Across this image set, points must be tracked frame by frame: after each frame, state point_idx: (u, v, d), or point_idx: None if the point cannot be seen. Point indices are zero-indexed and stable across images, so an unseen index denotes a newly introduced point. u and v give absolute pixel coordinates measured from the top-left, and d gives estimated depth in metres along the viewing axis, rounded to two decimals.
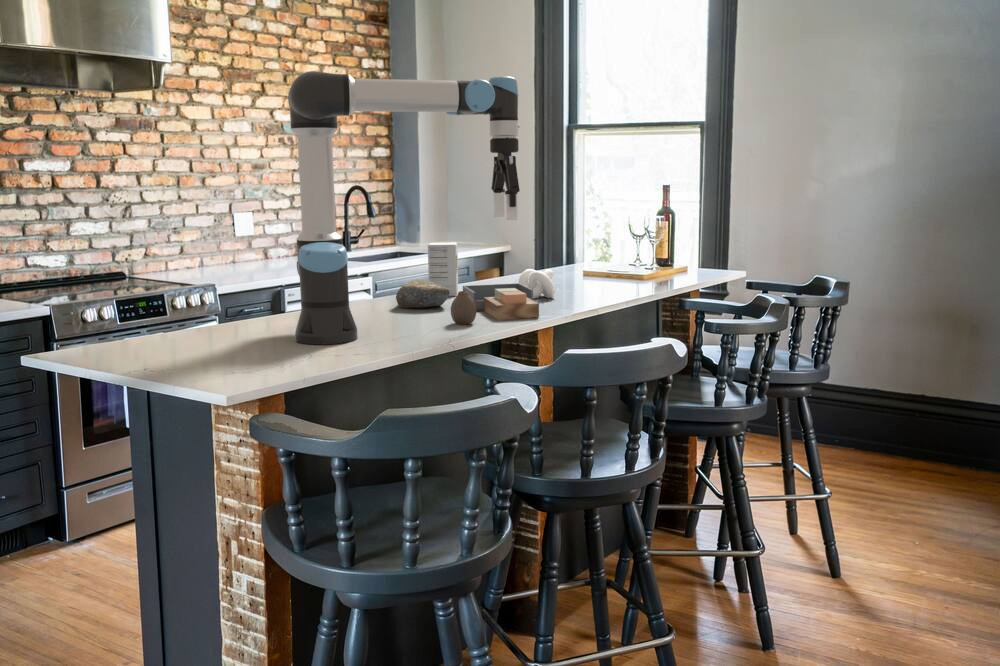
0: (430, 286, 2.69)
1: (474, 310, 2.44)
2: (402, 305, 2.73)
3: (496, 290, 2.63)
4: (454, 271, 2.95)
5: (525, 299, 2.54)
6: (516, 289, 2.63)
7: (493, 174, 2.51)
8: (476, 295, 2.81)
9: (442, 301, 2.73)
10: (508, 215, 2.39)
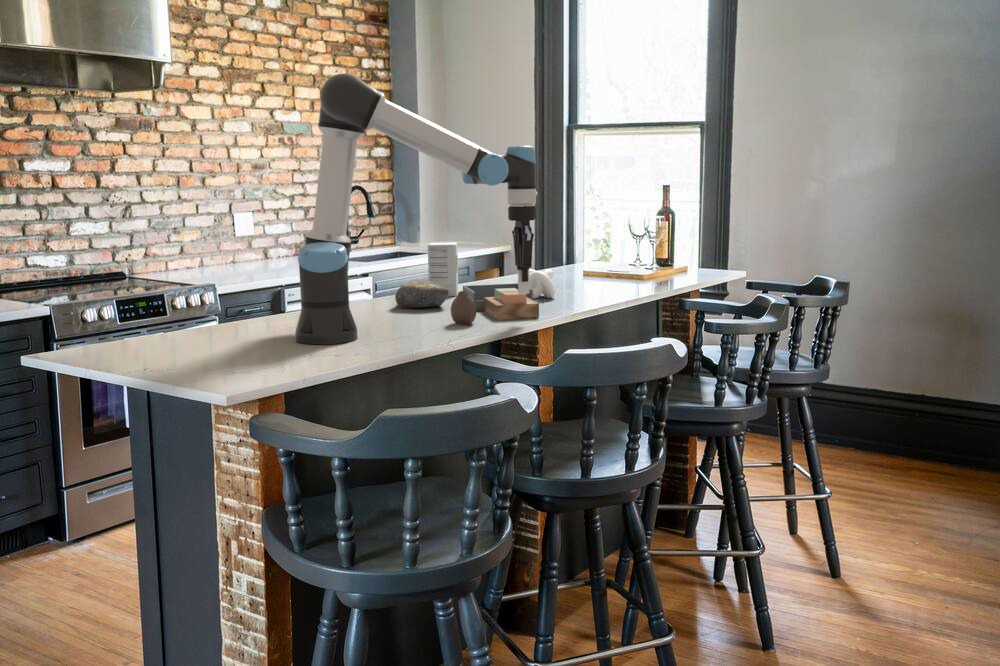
0: (429, 286, 2.69)
1: (474, 310, 2.44)
2: (401, 305, 2.73)
3: (496, 290, 2.63)
4: (454, 271, 2.95)
5: (525, 299, 2.54)
6: (516, 289, 2.63)
7: (514, 248, 2.48)
8: (476, 295, 2.81)
9: (441, 301, 2.73)
10: (520, 289, 2.45)
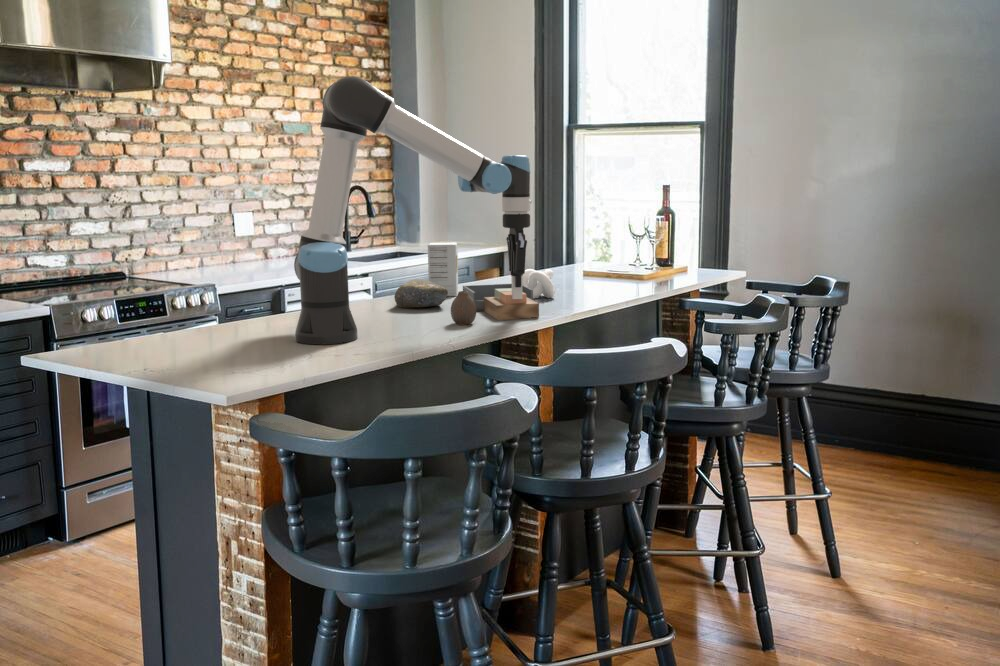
0: (428, 286, 2.69)
1: (474, 310, 2.44)
2: (400, 305, 2.73)
3: (496, 290, 2.63)
4: (454, 271, 2.95)
5: (525, 299, 2.54)
6: None
7: (508, 254, 2.54)
8: (476, 295, 2.81)
9: (440, 301, 2.73)
10: (514, 295, 2.52)
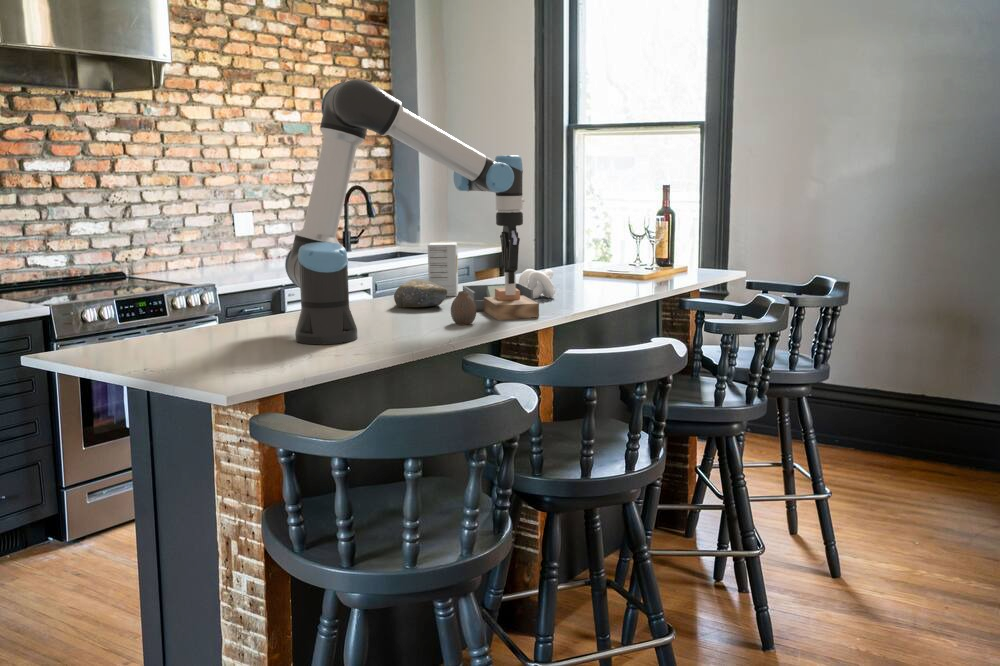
0: (428, 286, 2.70)
1: (474, 310, 2.44)
2: (400, 305, 2.73)
3: None
4: (454, 271, 2.95)
5: (519, 295, 2.61)
6: None
7: (502, 252, 2.61)
8: (476, 295, 2.81)
9: (440, 300, 2.73)
10: (507, 291, 2.59)
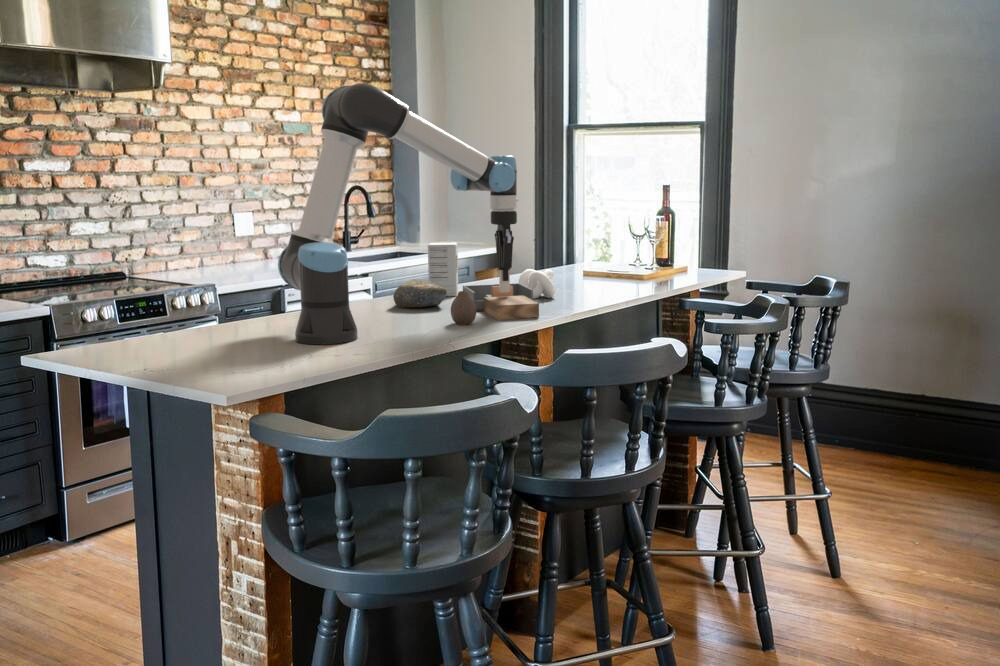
0: (427, 286, 2.70)
1: (474, 310, 2.44)
2: (399, 305, 2.74)
3: None
4: (454, 271, 2.95)
5: (510, 285, 2.70)
6: None
7: (496, 250, 2.67)
8: (476, 295, 2.81)
9: (439, 300, 2.73)
10: (501, 288, 2.65)
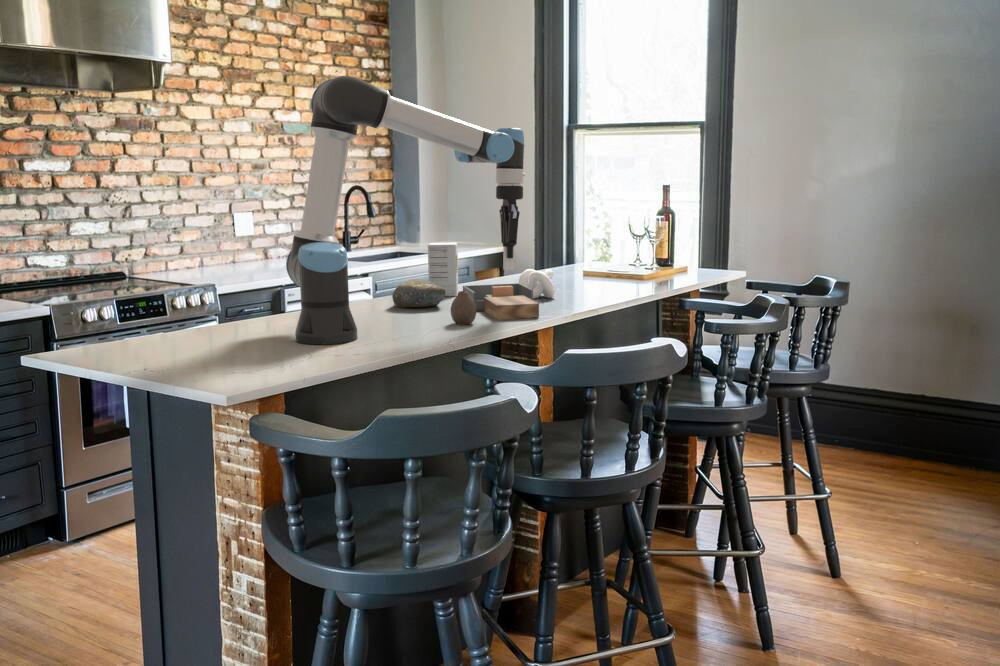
0: (426, 286, 2.70)
1: (474, 310, 2.44)
2: (398, 304, 2.74)
3: None
4: (454, 271, 2.95)
5: (511, 286, 2.70)
6: None
7: (501, 226, 2.59)
8: (476, 295, 2.81)
9: (438, 300, 2.73)
10: (505, 265, 2.56)
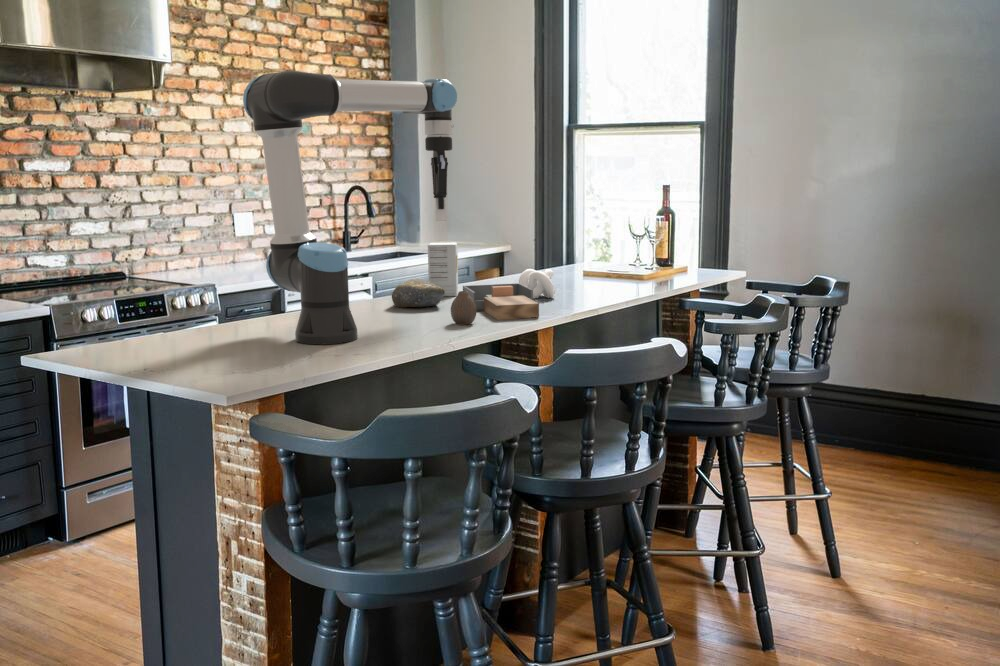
0: (425, 286, 2.70)
1: (474, 310, 2.44)
2: (398, 304, 2.74)
3: None
4: (454, 271, 2.95)
5: (511, 286, 2.70)
6: None
7: None
8: (476, 295, 2.81)
9: (437, 300, 2.74)
10: (437, 217, 2.59)
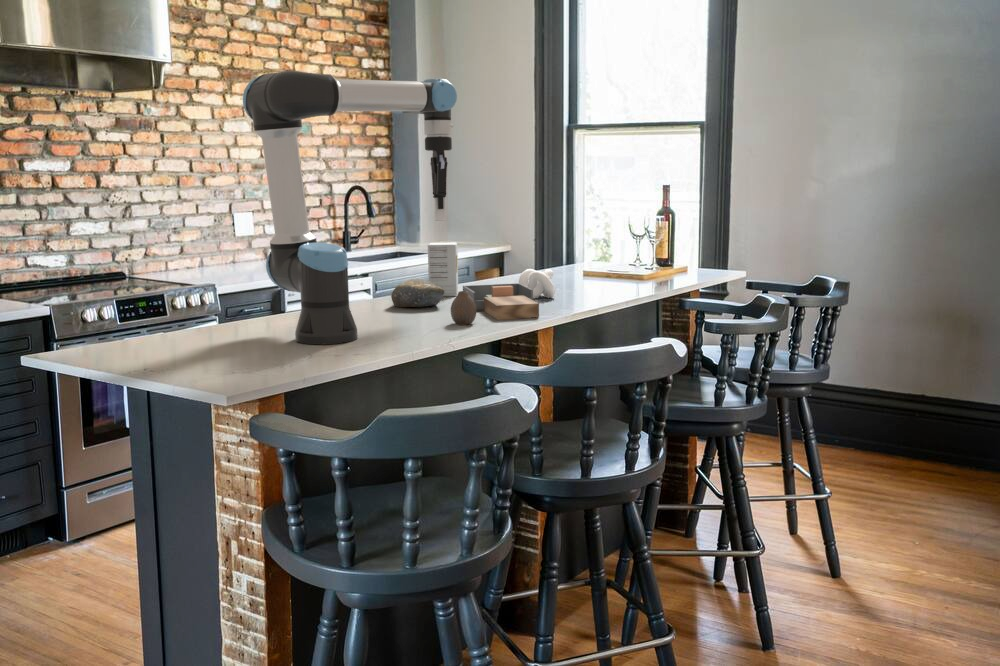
0: (425, 286, 2.70)
1: (474, 310, 2.44)
2: (397, 304, 2.74)
3: None
4: (454, 271, 2.95)
5: (511, 286, 2.70)
6: None
7: (432, 178, 2.62)
8: (476, 295, 2.81)
9: (437, 300, 2.74)
10: (437, 217, 2.59)
